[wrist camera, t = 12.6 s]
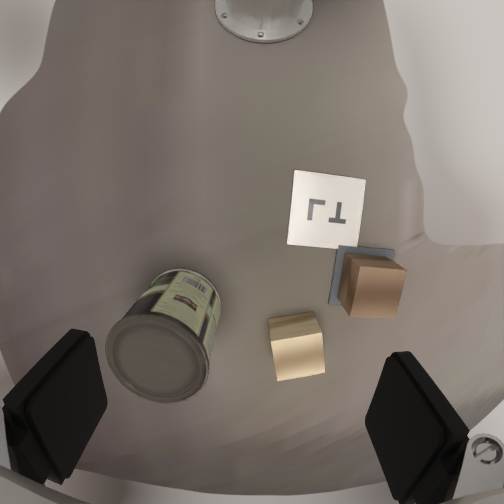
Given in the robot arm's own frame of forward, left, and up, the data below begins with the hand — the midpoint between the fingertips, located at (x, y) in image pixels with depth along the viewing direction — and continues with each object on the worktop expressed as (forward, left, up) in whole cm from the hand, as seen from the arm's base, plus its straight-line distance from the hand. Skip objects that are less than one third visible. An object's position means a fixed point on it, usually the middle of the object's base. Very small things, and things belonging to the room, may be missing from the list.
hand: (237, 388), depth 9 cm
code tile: (-3, +9, -30) cm, 31 cm away
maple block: (+14, +7, -30) cm, 34 cm away
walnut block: (+5, +15, -29) cm, 33 cm away
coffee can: (+11, -8, -30) cm, 33 cm away
